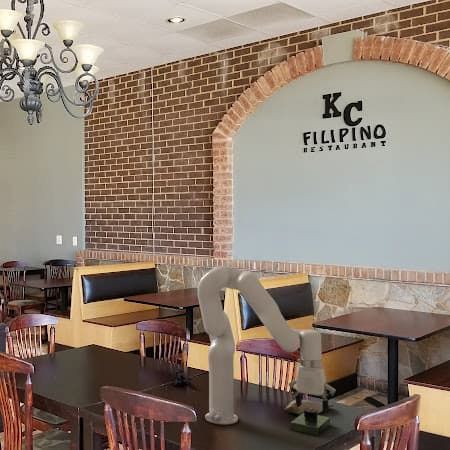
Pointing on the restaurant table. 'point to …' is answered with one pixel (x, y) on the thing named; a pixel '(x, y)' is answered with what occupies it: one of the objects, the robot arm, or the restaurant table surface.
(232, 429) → the restaurant table surface
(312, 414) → the dial
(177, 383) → the toy
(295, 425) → the panel
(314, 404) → the stone
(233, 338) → the robot arm
